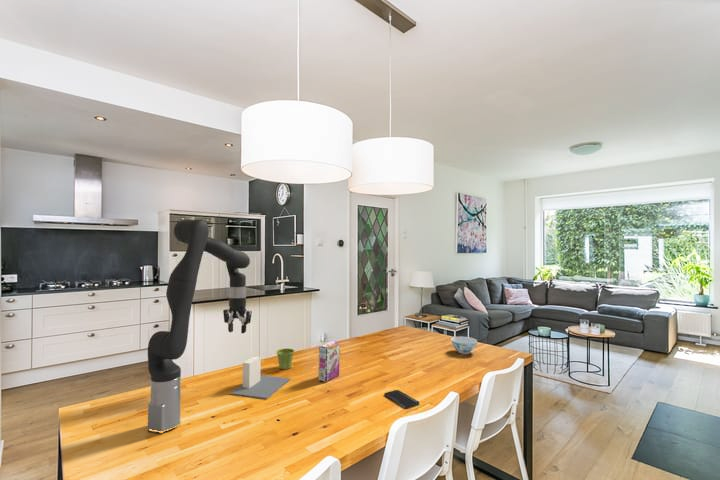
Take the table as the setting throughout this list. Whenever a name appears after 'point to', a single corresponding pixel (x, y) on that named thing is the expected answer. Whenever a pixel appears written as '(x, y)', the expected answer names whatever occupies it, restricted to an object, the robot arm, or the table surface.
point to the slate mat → (262, 387)
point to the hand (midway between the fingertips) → (237, 332)
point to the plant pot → (285, 358)
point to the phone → (401, 399)
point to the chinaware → (464, 344)
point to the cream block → (251, 372)
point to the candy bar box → (329, 361)
